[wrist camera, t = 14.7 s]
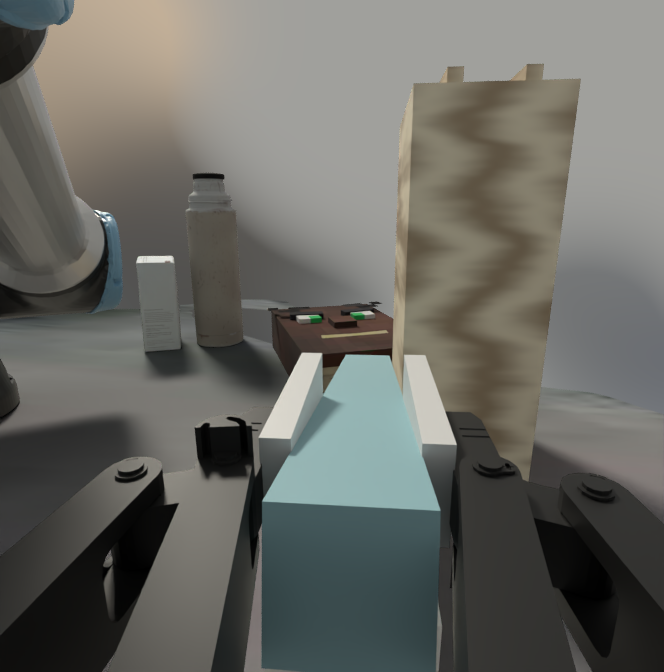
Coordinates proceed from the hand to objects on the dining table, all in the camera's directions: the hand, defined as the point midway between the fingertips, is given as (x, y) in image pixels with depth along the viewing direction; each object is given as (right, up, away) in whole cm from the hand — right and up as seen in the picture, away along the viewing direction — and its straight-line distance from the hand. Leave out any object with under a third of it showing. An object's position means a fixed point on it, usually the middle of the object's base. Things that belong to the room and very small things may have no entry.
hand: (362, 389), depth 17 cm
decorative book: (0, -3, +51) cm, 51 cm away
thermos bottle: (-21, +1, +64) cm, 67 cm away
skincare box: (-30, 0, +61) cm, 69 cm away
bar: (0, -3, +3) cm, 4 cm away
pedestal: (+10, -9, +27) cm, 30 cm away
